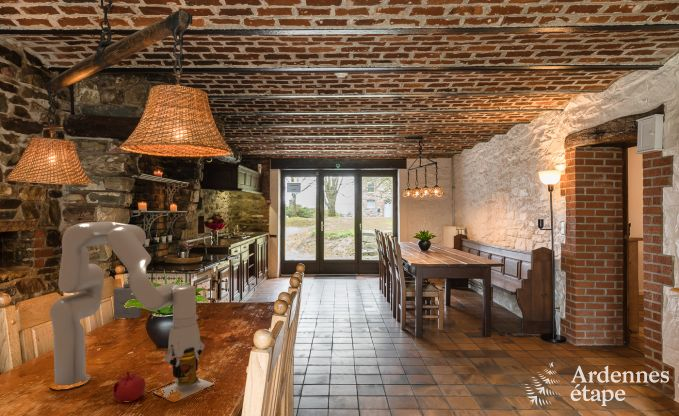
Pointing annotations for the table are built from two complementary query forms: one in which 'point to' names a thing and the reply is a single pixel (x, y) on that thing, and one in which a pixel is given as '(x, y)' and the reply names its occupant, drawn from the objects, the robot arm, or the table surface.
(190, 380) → the condiment
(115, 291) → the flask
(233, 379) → the table surface
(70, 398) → the table surface
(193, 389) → the mat
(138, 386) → the pomegranate
